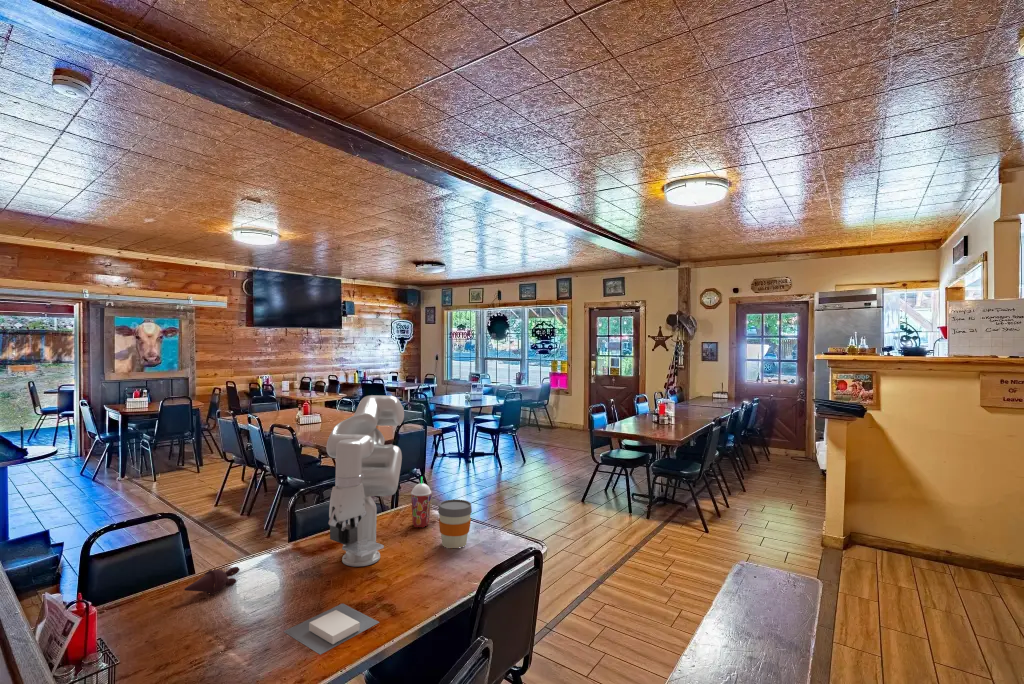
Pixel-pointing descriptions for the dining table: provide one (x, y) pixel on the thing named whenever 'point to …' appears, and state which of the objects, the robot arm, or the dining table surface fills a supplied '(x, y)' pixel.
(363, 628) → the mat
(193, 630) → the dining table surface
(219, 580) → the icecream
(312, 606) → the dining table surface
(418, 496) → the smoothie
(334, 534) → the trowel
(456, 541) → the reusable coffee cup
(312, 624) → the tile
